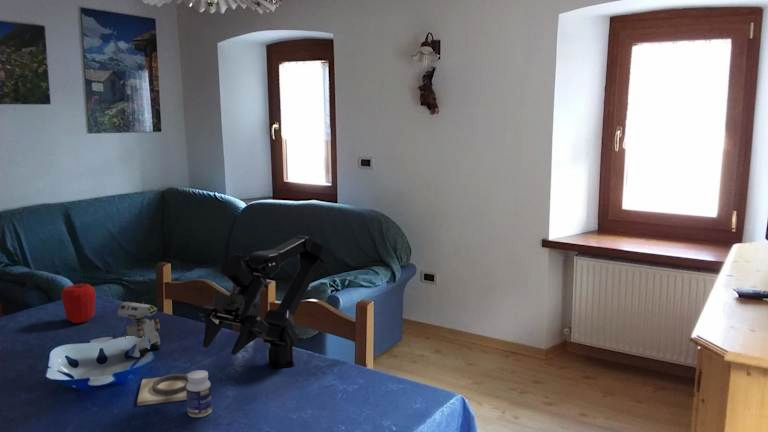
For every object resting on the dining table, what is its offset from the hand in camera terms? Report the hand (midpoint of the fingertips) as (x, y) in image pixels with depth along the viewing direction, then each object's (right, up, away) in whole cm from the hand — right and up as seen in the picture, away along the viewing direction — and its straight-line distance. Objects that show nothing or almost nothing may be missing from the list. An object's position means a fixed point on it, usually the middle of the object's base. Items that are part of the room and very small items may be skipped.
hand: (218, 351), depth 155 cm
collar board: (-14, -12, +8) cm, 20 cm away
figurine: (-32, -7, +32) cm, 46 cm away
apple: (-62, -2, +58) cm, 85 cm away
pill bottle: (-3, -14, -4) cm, 15 cm away
